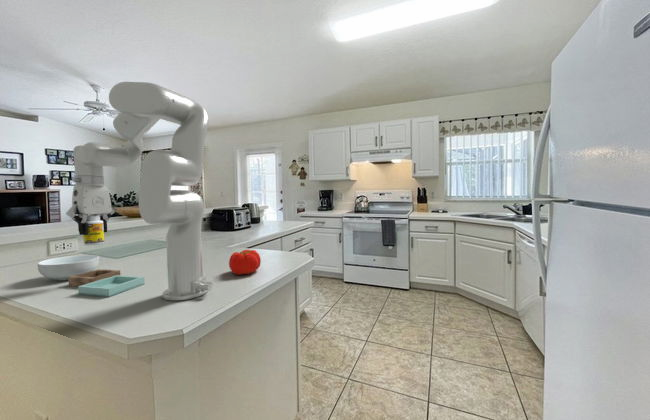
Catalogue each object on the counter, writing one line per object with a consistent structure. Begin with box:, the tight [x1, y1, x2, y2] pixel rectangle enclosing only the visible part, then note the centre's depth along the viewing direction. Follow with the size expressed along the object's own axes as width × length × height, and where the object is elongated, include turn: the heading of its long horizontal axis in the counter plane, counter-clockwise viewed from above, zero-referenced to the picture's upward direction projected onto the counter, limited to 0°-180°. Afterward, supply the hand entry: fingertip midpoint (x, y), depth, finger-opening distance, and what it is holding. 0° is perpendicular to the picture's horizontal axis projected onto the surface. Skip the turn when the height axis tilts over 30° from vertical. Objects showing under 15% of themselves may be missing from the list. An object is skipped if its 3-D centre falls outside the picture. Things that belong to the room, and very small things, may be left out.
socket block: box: [68, 268, 121, 287], centre depth 95 cm, size 10×10×3 cm
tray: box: [77, 275, 145, 298], centre depth 87 cm, size 12×12×2 cm
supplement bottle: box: [82, 214, 105, 246], centre depth 94 cm, size 6×6×10 cm
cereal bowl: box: [37, 254, 100, 281], centre depth 101 cm, size 17×17×7 cm
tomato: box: [228, 249, 262, 276], centre depth 104 cm, size 13×12×8 cm
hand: (93, 232), depth 94 cm, fingers closed on supplement bottle, 5 cm apart
